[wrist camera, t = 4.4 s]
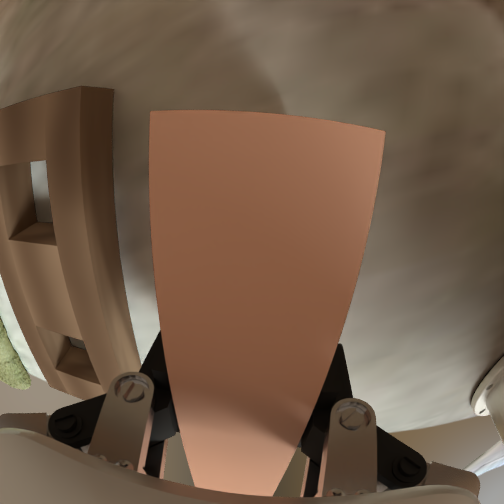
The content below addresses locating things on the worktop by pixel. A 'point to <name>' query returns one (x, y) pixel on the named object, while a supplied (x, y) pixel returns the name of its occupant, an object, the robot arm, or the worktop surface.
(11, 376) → the washcloth
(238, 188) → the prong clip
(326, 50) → the worktop surface
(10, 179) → the slotted rail
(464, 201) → the worktop surface
